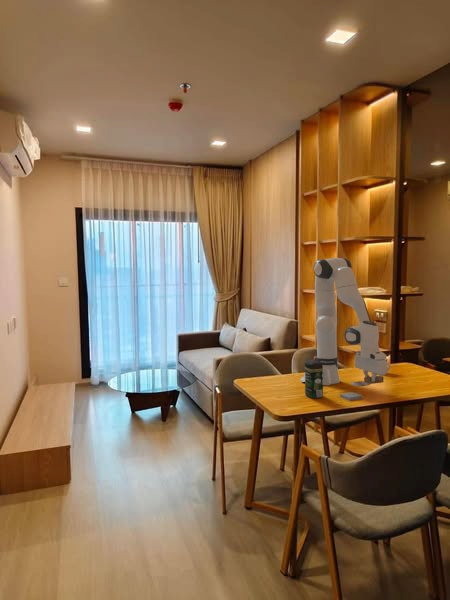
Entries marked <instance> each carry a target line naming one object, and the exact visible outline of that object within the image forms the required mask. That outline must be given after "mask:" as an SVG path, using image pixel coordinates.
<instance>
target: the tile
mask: <svg viewBox="0 0 450 600" xmlns="http://www.w3.org/2000/svg"><path fill="white" fill-rule="evenodd" d="M339 395H340V398H342V399H344V400H346V401H348V402H350V401H351V402H352V401H356V400H362V399H363V395H362V394H360V393H357V392H353V391H352V392H346V393H340V394H339Z"/></svg>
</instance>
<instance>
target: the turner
mask: <svg viewBox="0 0 450 600" xmlns="http://www.w3.org/2000/svg"><path fill="white" fill-rule="evenodd" d="M370 377H371V376H370ZM370 377H365V376H364V378H363V380H359V381H352V382H350V385H352V386H356V387H367V386H371V385H373V384H381V383H384V379H385V378H384V375H376V377H375V381H371V380H370Z"/></svg>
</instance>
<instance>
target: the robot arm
mask: <svg viewBox="0 0 450 600" xmlns="http://www.w3.org/2000/svg"><path fill="white" fill-rule="evenodd" d="M352 268H353V267H352V263H351V260H349V259H348V258H346V257H345V258H344V257H331V258H325V259H324V258H322V259H318V260H317V261H316V262H315V263H314V264H313V273H314V275H315V279H314V300H315V303H314V304H315V309H316V317H317V319H316V321H315V335H316V336H315V337H316V348H317V349H316V351H317V355H316V356H313V359H314V360H315V361H318V362H320V363H322V365H323V371H322V382H323V386H330V385H336V384H339V383H340V382H341V379H340V375H339V369H338V367H339V358H338V349H337V348H338V345H337V344H338V343H337V341H338V340H337V326H338V317H337V307H336V296H335V295H337V298H338V300H339V301H340V302H341V303H343V304H344V305H347V306H349V307H351V308H352V309H353V310H354V311H355V313H356V316H357V319H358V324H357V325H353V326H349V327H347V328H346V329H345V331H344V340H345V341H346V343H347V344H348V345H351V346H356V345H360V350H357V351H356V353H355V356H354V368H355V369H358V370H362V371H363V375H364V377H370V380H371V381H375V377H376V376H385V375H387V374H388V371H387V370H388V364H387V363H388V361H387V362H386V360H385V359H386V358H387V357H388V356H387V354H386V353H384V352H383V351H382V350H380V346H379V340H380V332H379V326H378V324H377V322H375V321H372V320H371V317H370V314H369V310H368V307H367V303H366V302H365V299H364V298H363V296H362V295H361V293H360V291H359V288H358V282H357V280H356V279H357V278H356V275H355V273H354V270H353V269H352ZM335 290H336V293H335ZM387 359H388V358H387ZM369 373H371V376H370V375H369ZM386 373H387V374H386ZM301 381H302V382H305V373H304V374H303V376H302V377H300V382H301ZM302 382H301V383H302Z"/></svg>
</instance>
